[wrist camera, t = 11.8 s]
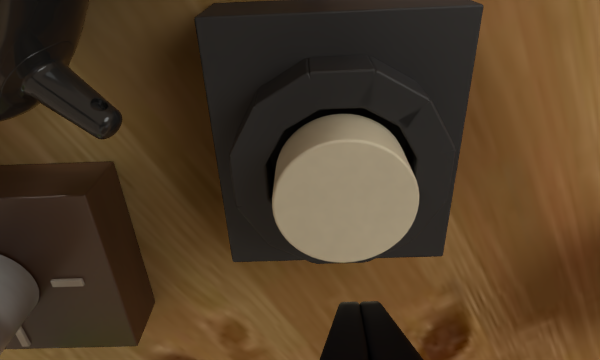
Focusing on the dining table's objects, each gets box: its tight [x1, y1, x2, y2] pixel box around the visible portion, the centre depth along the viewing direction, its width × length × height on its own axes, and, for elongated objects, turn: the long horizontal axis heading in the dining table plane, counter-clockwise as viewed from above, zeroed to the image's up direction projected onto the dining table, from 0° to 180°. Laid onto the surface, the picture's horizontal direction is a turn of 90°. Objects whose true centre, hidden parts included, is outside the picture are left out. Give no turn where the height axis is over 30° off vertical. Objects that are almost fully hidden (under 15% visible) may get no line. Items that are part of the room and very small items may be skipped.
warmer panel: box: [0, 162, 155, 349], centre depth 20 cm, size 11×9×3 cm
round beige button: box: [272, 114, 419, 263], centre depth 13 cm, size 4×4×2 cm
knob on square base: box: [194, 0, 483, 264], centre depth 16 cm, size 9×10×5 cm
